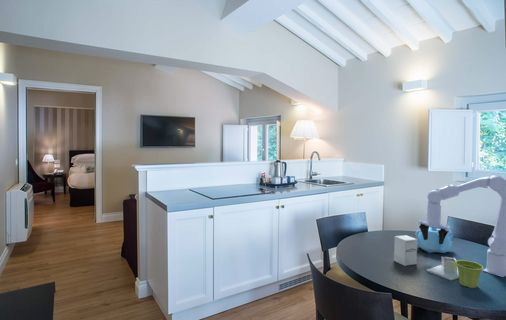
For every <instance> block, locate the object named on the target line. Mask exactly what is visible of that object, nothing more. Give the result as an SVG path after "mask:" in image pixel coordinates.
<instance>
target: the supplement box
mask: <svg viewBox="0 0 506 320" xmlns="http://www.w3.org/2000/svg"><path fill="white" fill-rule="evenodd" d="M393 246H394V249H393V261H394V262H395V263H398V264H400V265H402V266H404V267H405V266H411V265H417V260H418V259H417V256H418V245H417V239H416V237H413V236H409V235H407V234H406V235H405V234H404V235H395V236H394V245H393Z"/></svg>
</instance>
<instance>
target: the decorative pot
mask: <svg viewBox="0 0 506 320" xmlns="http://www.w3.org/2000/svg"><path fill="white" fill-rule="evenodd" d="M438 230H441V229H438V228H434V227H429V230H428V240H424V238H423V234H422V232H421V230H420V229H417V230H416V231H415V235H414V236H415V239H417V246H419V248H420V249H422V250H424V251H425V252H427V253H428V254H429V253H430V254H433V253H441V254H446V253H447V252H448V253H449V252H450V251H451V249H452V246H454V242H453V241H452V239H453V237H454V234H453V233H452V231H451V230H450V231H449V232H448V233H449V234H448V233H447V235H446V237H445V239H444V242H443V244H441V245H440V244H439V233H438Z"/></svg>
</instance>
